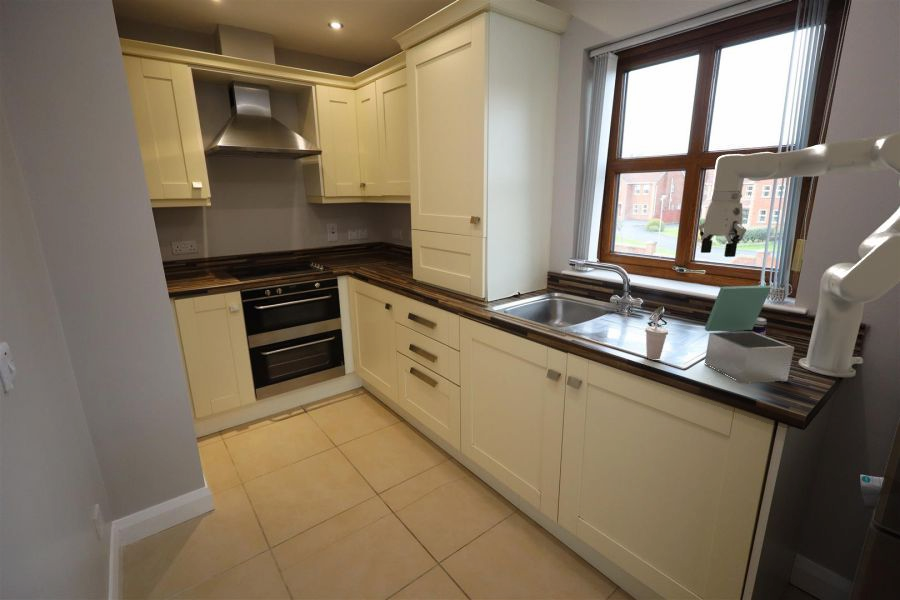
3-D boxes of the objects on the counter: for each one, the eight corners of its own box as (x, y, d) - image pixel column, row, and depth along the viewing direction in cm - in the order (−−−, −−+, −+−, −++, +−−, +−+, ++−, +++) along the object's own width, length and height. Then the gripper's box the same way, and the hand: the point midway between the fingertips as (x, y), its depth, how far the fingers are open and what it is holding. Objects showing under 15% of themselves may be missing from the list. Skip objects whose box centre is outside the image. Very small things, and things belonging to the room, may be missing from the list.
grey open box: (745, 361, 128) (751, 331, 125) (787, 381, 114) (794, 347, 112) (704, 363, 126) (709, 332, 124) (741, 383, 113) (747, 349, 110)
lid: (752, 329, 126) (746, 325, 128) (771, 287, 119) (765, 284, 121) (707, 331, 124) (702, 327, 126) (724, 288, 117) (718, 285, 119)
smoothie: (657, 354, 133) (663, 313, 130) (668, 362, 127) (674, 318, 124) (638, 354, 133) (643, 313, 130) (648, 362, 127) (653, 318, 124)
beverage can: (737, 353, 134) (744, 318, 132) (741, 349, 138) (748, 315, 135) (759, 358, 130) (766, 322, 128) (762, 354, 134) (769, 318, 132)
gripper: (761, 197, 117) (751, 258, 121) (715, 198, 133) (707, 251, 137) (737, 197, 116) (728, 258, 120) (694, 198, 132) (686, 251, 136)
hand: (717, 254), depth 128 cm, fingers open, 9 cm apart
